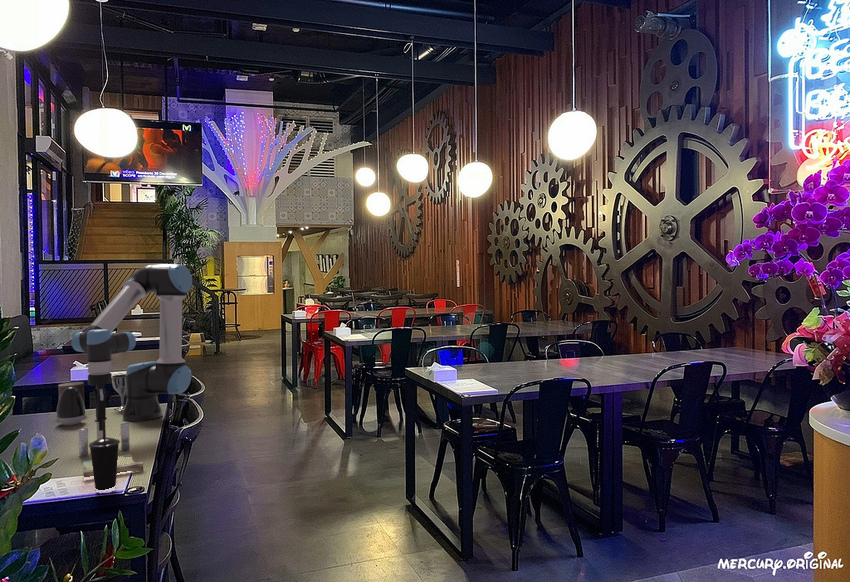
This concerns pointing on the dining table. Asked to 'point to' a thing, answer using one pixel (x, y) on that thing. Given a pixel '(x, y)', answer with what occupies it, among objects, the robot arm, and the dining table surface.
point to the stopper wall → (120, 468)
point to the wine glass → (120, 386)
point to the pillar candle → (73, 384)
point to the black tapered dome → (70, 407)
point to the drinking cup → (104, 461)
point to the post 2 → (125, 437)
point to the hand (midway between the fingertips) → (101, 438)
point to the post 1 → (83, 442)
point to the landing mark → (91, 460)
